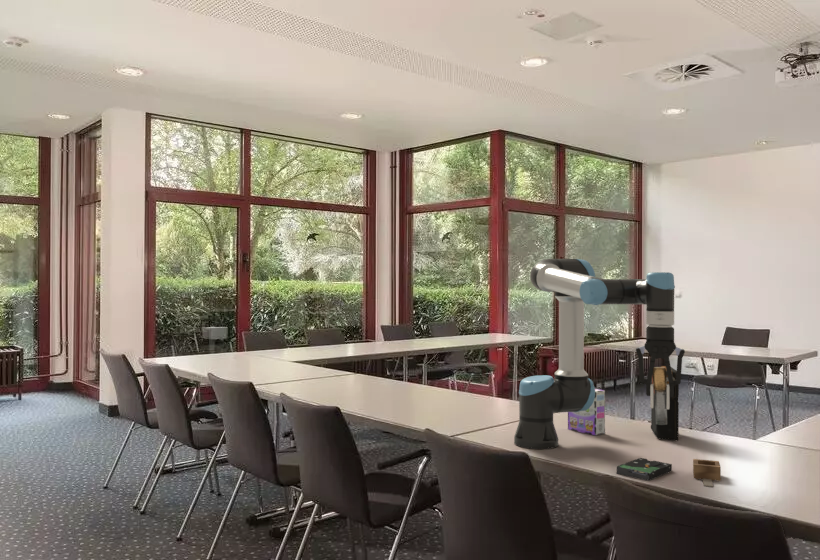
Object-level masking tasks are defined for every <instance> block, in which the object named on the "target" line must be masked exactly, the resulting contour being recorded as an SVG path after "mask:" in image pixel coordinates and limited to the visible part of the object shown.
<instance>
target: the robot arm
mask: <svg viewBox="0 0 820 560" xmlns="http://www.w3.org/2000/svg"><path fill="white" fill-rule="evenodd" d="M529 275H530V277H529V279H530V281H531V284H532V286H534V287H535V289H537V290H539V291H543V292H547V293H552V292H553V293H554V298H555V299H556V300H557V301H558V310H559V311H558V369H557V370H556V371H555V372H554V377H553V376H551V375H546V374H545V375H544V374H542V375H531V376H527V377H525V378H522V380H520V383H519V388H518V389H519V390H518V394H519V395H518V397H519V398H518V399H519V405H518V406H519V409H518V410H519V412H518V413H519V419H518V420H519V422H518V425H517V427H516V429H515V430H516V431H515V433H514V438H513V443H514V445H515V446H517V447H521V448H526V449H535V450H536V449H537V450H539V449H540V450H544V449H545V450H547V449H548V450H549V449H554V448H556V447H558V446H559V437H558V433H557V430H556V427H555V423H554V414H559V413H568V412H579V411H585V410H587V409H589V408H590V406H591V405H592V404H593V402H594V398H595V389H596V388H595V386H594V384H595V383H594V381H593V380H592V379H590V378H589V374H588V372H587V371H586V370H585V369H584V367H585V360H584V359H585V358H584V357H585V354H584V353H585V350H584V347H585V345H584V342H585V338H584V337H585V333H584V332H585V330H584V329H585V304H586V305H593V306H599V305H646V313H645V315H646V317H645V318H646V320H645V321H646V322H645V323H646V325H647V326H646V329H645V330H646V331H645V332H646V335H645V338H646V341H645V343H644V345H642V346H638V347H636V348H635V352H636V354H637V356H638V357H637V358H638V374H639V377H638V378H639V382H640V383H643V384H645V385H646V386H645V388H646V391H645V395H646V396H647V397H650V403H649V404H650V405H649V406H650V407H649V408H650V409H651V408H653V407H654V389H653V384H651V379H652V374H653V368H654V367H655V363H656V359H662V360H664V364H665V365H664V366H666V370H667V375H668V380H669V385H667V409H669V397H673V396H674V386H675V385H677V384H679V385H680V384H681V383H682V382H681V380H682V369H683V368H682V367H683V366H682V365H683V357H684V355H685V353H686V351H685V349H683V348H680V347H677V345H676V342H675V328H674V327H673V326H675V289H676V286H675V277H674V276H675V275H674V274H673V273H672V272H661V271H660V272H654V271H652V272H651V271H650V272H648V273H647V274H646V279H643V278H642V279H640V278H639V279H637V278H623V279H621V278H620V279H619V278H618V279H617V278H615V279H613V278H612V279H611V278H610V279H609V278H600V277H596V273H595V269H594V267H593V266H592V265H591V263H590V262H589V261H588V260H586V259H580V258H546V259H545V258H544V259H541V260H539V261H538V262H536V263H535V264H534V265H533V266H532V268H531V270H530V274H529ZM645 350H646V352H647V354H649V356H650V361H649V367H648V373H647V376H646V377H645V365H644V354H645ZM674 352H675V355H676V356H677V360H676V361H677V362H676V371H677V374H676V380H673V376H672V371H671V367H672V366H671V361H670V356H671V355H672V354H673V353H674Z"/></svg>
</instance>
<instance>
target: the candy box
mask: <svg viewBox="0 0 820 560" xmlns="http://www.w3.org/2000/svg"><path fill="white" fill-rule="evenodd" d="M567 430H570V431H574V432H579V433H583V434H587V435H591V436H599V435H605V434H606V390H605V389H597V388H595V398H594V402H593V404H592V405H591V406H590V408H589V409H587V410H585V411H579V412H567Z"/></svg>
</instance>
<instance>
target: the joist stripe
mask: <svg viewBox="0 0 820 560" xmlns="http://www.w3.org/2000/svg"><path fill="white" fill-rule="evenodd" d="M702 483H703V487H709V488H714V484H713V480H712V479H704V478H703V479H702Z"/></svg>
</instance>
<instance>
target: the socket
mask: <svg viewBox="0 0 820 560" xmlns="http://www.w3.org/2000/svg"><path fill="white" fill-rule="evenodd" d="M721 473H722V471H721V464H720V461H719V460H712V459H710V460H709V459H699V458H693V459H692V474H693V475H692V476H693V479H694V478H696V479H695V480H703V478H704V479H712V481H714V480H716V481H715V482H721V479H722V478H721Z"/></svg>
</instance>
